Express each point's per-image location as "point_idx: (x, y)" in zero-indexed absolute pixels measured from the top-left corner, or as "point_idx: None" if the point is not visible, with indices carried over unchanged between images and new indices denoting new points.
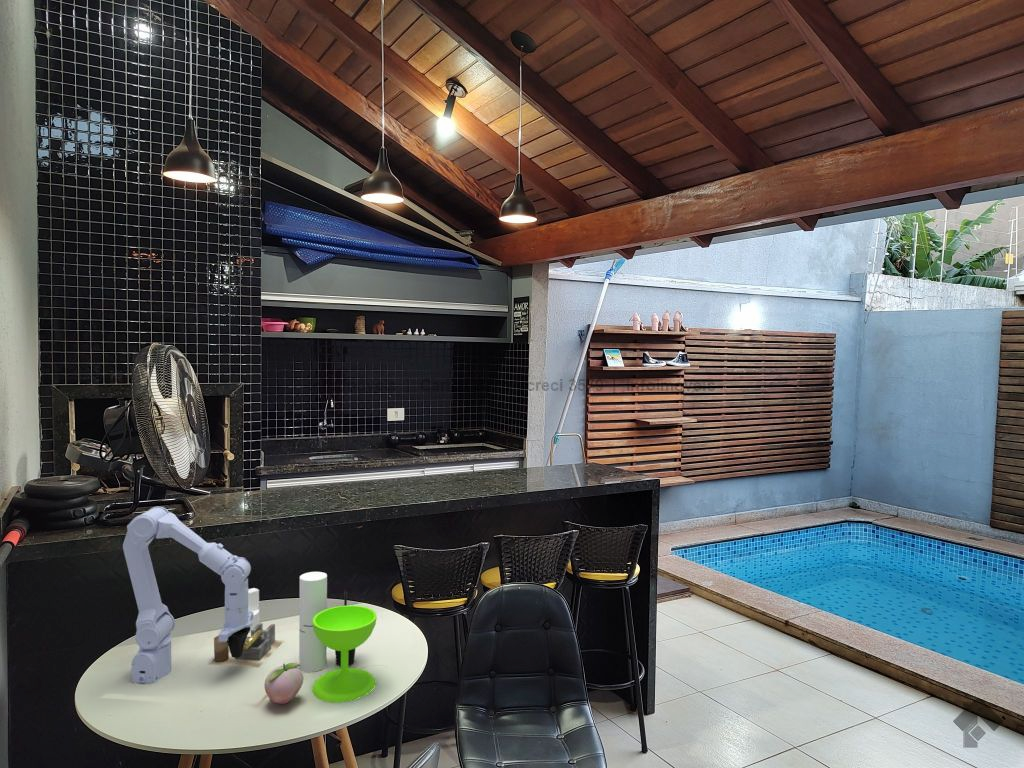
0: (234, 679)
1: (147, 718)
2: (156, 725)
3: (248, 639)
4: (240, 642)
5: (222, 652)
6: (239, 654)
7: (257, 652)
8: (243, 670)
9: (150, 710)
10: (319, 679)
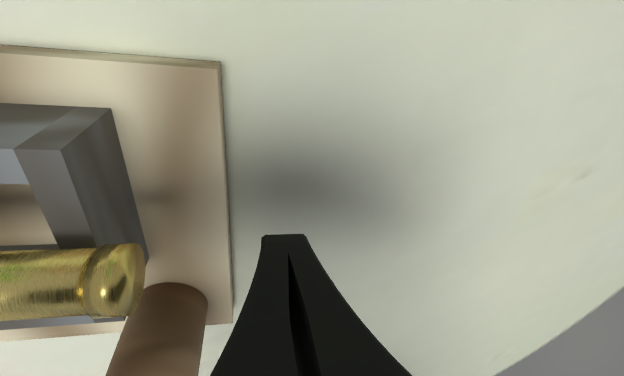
0: (328, 166)
1: (552, 291)
2: (606, 255)
3: (14, 317)
4: (400, 365)
5: (190, 339)
6: (312, 250)
7: (84, 152)
8: None
9: (509, 305)
10: None
